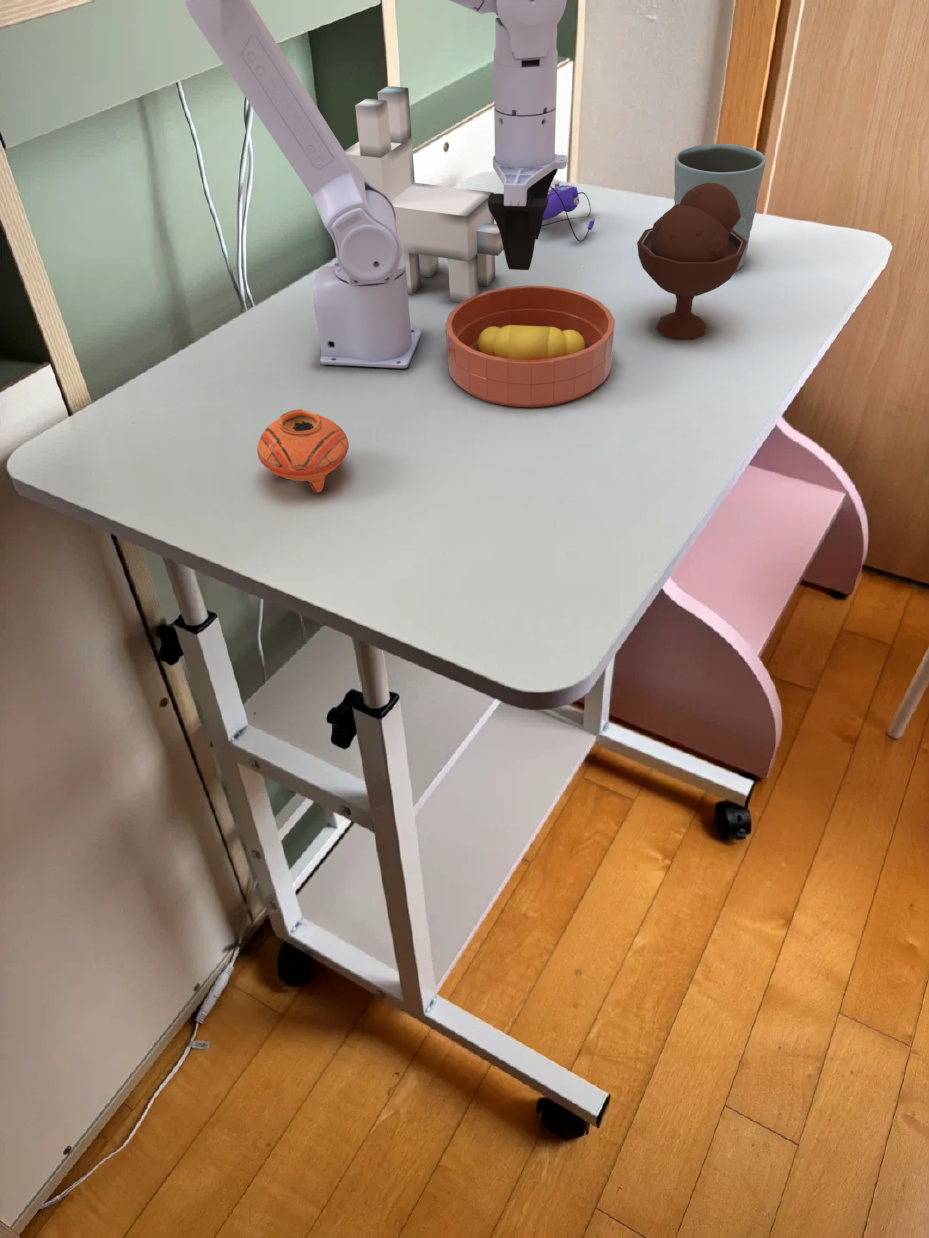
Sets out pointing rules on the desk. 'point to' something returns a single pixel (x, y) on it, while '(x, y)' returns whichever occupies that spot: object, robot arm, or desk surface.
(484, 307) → the bowl
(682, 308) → the ice cream bowl
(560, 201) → the game controller
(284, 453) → the pot
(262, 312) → the desk surface
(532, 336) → the banana
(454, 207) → the toy llama
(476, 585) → the desk surface
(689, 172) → the grey green cup
